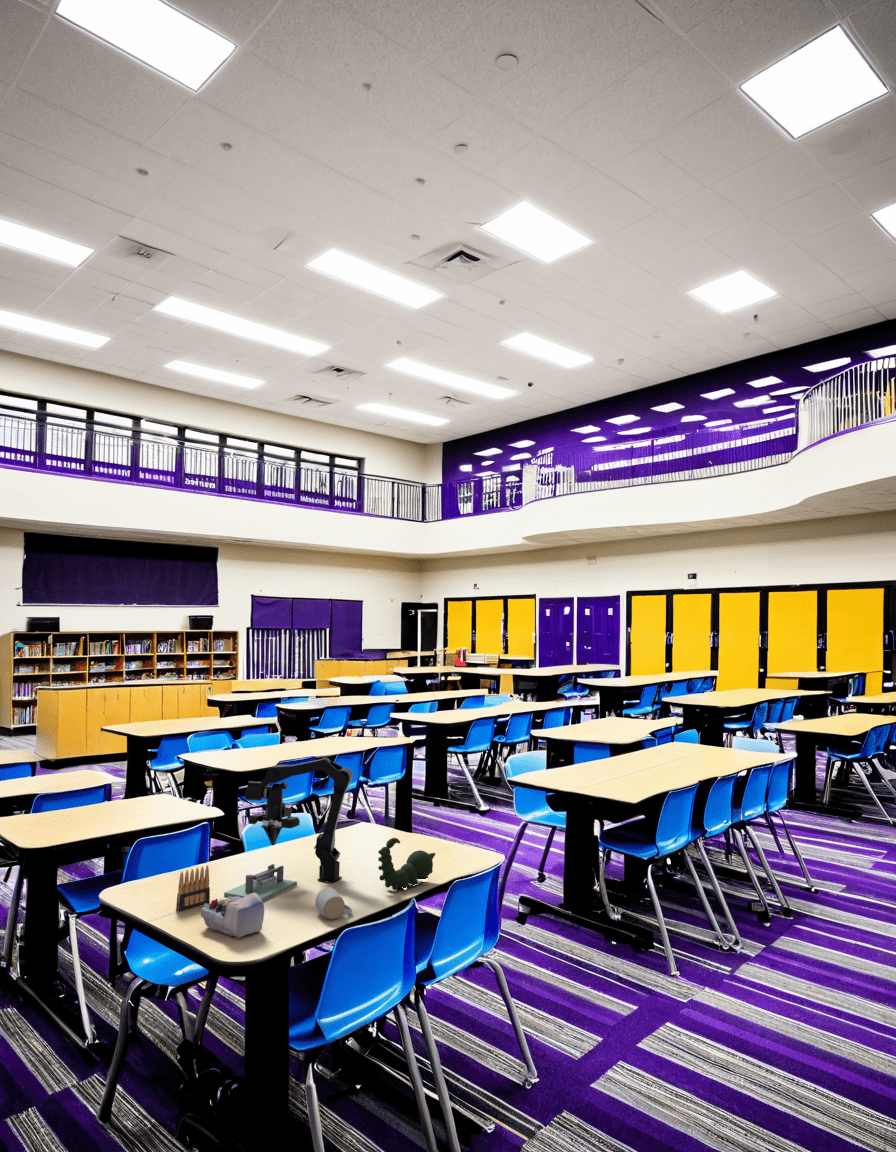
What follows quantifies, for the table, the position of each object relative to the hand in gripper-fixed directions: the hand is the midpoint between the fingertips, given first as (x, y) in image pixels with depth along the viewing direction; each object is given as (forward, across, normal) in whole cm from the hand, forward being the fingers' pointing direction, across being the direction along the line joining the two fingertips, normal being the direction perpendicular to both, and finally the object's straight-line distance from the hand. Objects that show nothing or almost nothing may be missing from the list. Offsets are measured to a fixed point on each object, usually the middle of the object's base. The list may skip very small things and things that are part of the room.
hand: (273, 844), depth 259 cm
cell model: (+12, -18, +44) cm, 49 cm away
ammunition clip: (+12, +6, +34) cm, 36 cm away
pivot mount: (+11, -5, +5) cm, 13 cm away
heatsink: (+11, -4, +12) cm, 17 cm away
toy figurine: (+12, -49, -12) cm, 52 cm away
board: (+12, -4, +12) cm, 18 cm away
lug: (+11, -4, +18) cm, 21 cm away
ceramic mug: (+12, -39, +22) cm, 47 cm away
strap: (+7, -4, +10) cm, 13 cm away
